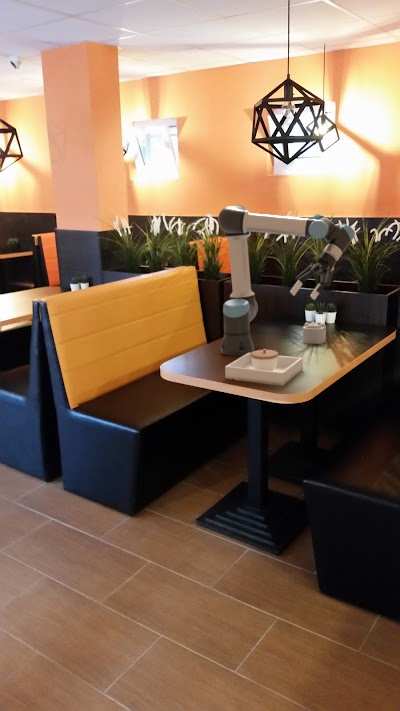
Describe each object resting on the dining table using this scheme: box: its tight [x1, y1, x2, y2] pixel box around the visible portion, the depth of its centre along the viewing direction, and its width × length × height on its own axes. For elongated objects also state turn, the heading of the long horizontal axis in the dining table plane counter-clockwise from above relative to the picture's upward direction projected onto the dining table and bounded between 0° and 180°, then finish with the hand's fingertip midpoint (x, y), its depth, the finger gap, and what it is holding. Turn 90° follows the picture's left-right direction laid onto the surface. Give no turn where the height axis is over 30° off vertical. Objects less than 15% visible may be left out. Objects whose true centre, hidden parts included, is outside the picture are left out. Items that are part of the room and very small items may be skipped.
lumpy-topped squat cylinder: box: [302, 321, 327, 345], centre depth 284 cm, size 10×13×9 cm
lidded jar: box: [251, 348, 279, 371], centre depth 235 cm, size 11×11×9 cm
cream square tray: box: [224, 353, 304, 387], centre depth 236 cm, size 24×22×5 cm
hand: (301, 295), depth 253 cm, fingers open, 13 cm apart
